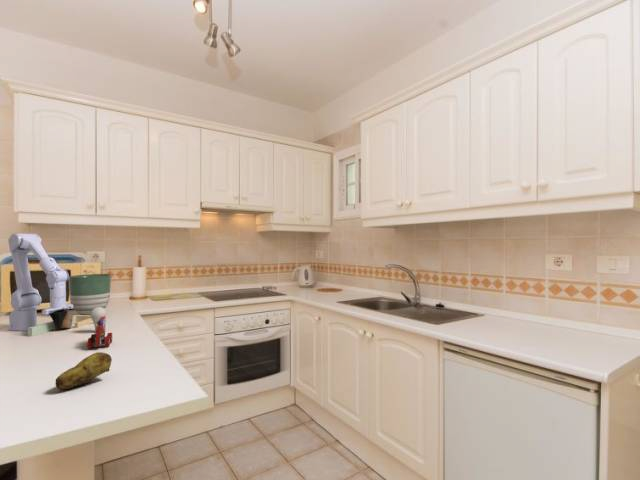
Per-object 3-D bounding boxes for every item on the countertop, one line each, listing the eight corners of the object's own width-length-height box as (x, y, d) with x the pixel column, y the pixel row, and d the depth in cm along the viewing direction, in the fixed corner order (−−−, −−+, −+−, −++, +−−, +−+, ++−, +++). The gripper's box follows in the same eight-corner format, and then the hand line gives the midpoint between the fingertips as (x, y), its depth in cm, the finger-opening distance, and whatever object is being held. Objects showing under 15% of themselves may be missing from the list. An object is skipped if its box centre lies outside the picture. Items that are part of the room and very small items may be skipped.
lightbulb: (98, 334, 148) (98, 308, 148) (86, 333, 149) (86, 308, 149) (109, 330, 154) (109, 306, 154) (98, 330, 155) (98, 305, 155)
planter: (84, 319, 176) (84, 278, 176) (60, 316, 183) (60, 276, 183) (119, 312, 194) (119, 274, 194) (95, 310, 201) (95, 273, 201)
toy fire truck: (85, 351, 124) (85, 323, 124) (93, 342, 136) (93, 316, 136) (108, 349, 127) (108, 321, 127) (113, 340, 139) (113, 314, 139)
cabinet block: (53, 328, 153) (55, 311, 156) (59, 328, 158) (61, 313, 160) (66, 327, 154) (68, 311, 157) (71, 328, 159) (73, 312, 161)
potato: (57, 384, 96) (57, 355, 96) (111, 374, 103) (111, 347, 103) (54, 395, 89) (54, 364, 89) (112, 384, 96) (112, 355, 96)
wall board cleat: (27, 336, 145) (27, 327, 145) (74, 322, 171) (74, 315, 171) (50, 336, 145) (50, 328, 145) (94, 322, 170) (94, 315, 170)
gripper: (52, 299, 146) (53, 331, 146) (78, 294, 161) (79, 323, 161) (37, 299, 147) (37, 331, 147) (64, 294, 161) (65, 323, 161)
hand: (58, 327), depth 154 cm, fingers closed, pressing on cabinet block
